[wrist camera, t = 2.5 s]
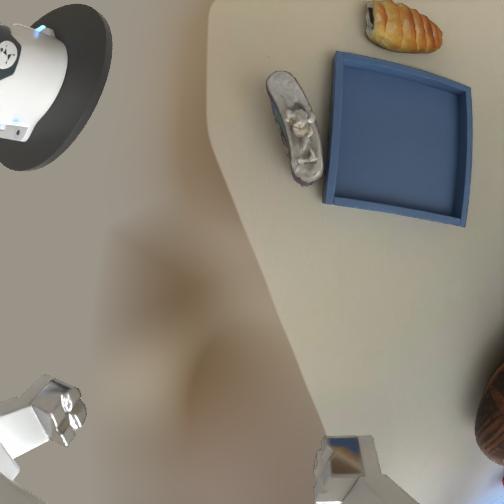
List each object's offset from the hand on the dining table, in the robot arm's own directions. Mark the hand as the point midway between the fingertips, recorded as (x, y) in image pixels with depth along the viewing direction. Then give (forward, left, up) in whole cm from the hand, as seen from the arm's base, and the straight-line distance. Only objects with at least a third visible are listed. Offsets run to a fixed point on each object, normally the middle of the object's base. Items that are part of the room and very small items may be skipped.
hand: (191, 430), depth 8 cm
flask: (+2, +12, -25) cm, 28 cm away
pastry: (+13, +28, -25) cm, 39 cm away
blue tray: (+13, +14, -24) cm, 31 cm away
